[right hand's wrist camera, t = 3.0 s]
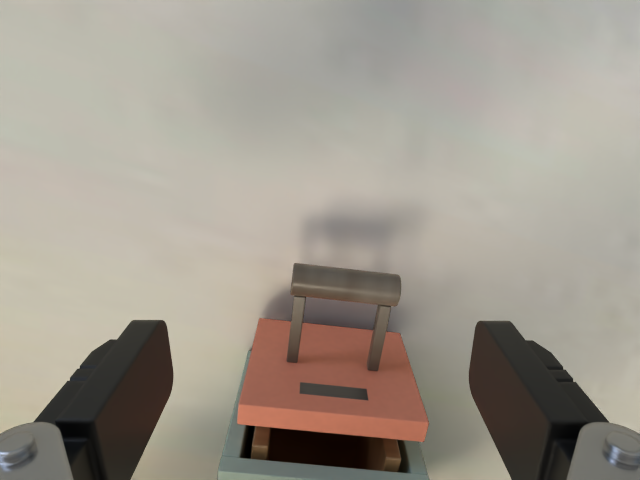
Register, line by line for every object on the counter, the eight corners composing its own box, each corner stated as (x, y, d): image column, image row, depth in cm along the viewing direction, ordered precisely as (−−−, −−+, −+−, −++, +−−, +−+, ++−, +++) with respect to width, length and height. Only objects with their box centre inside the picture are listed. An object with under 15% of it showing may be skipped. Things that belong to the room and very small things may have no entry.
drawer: (266, 233, 26) (246, 295, 18) (417, 251, 26) (457, 318, 19) (246, 465, 32) (224, 581, 24) (368, 476, 32) (384, 593, 25)
